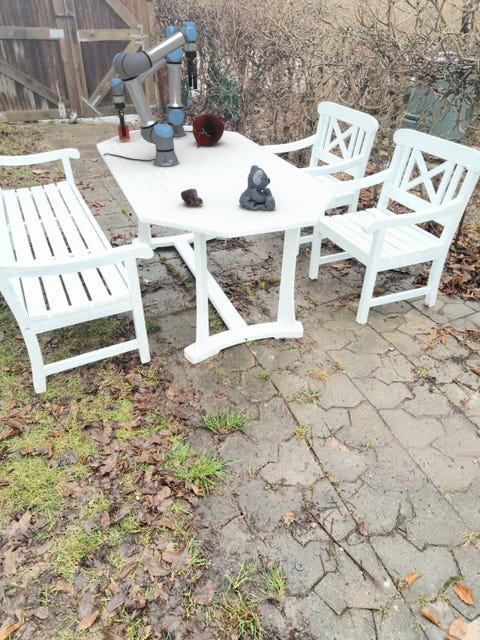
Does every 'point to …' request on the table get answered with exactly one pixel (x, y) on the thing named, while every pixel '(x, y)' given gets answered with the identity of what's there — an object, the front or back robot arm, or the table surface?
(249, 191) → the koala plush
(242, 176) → the table surface
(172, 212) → the table surface
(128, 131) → the brick
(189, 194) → the rock
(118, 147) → the table surface
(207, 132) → the dark red round lump
